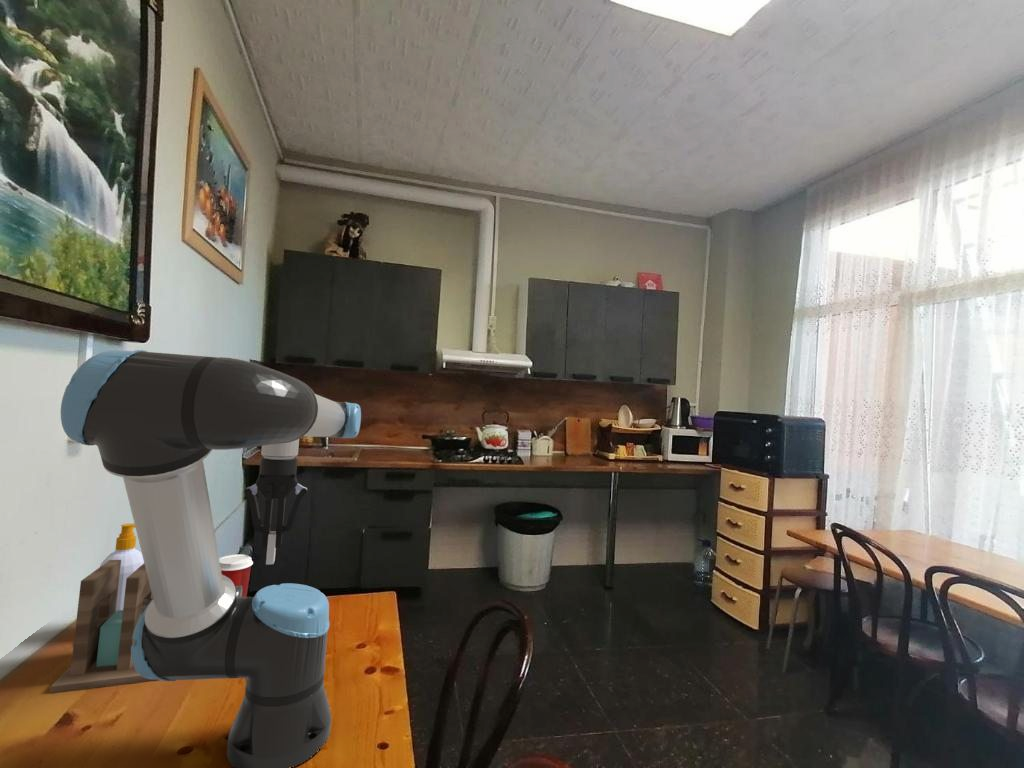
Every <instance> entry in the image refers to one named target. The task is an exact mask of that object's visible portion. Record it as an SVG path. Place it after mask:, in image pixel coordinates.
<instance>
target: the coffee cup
mask: <svg viewBox="0 0 1024 768" xmlns="http://www.w3.org/2000/svg"><path fill="white" fill-rule="evenodd" d="M219 562H220V568H221V574H222V575H224V576H226V577H228V578H229V579H230V580H231V581H232V582H233V583H234V586H242V597H248V596H247V595H248V589H249V582H250V576H251V569H252V565H253V564H254V561H253V560H252V557H251V556H249V555H247V554H241V553H240V554H229V555H224V556H222V557H219Z"/></svg>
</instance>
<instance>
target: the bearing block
mask: <svg viewBox="0 0 1024 768" xmlns="http://www.w3.org/2000/svg"><path fill="white" fill-rule="evenodd" d="M120 567H121V560H109V561H108V562H106V563H105V564H104V565H102V566H101V567H100V566H99V567H98V568H96V570H94V571H93V572H91V573H90V574H88V575H87V576H85V578H83V579H82V580H80V586H79V594H78V603H77V612H76V622H75V629H74V631H75V632H74V638H73V649H72V656H71V657H72V659H71V665H70V666H69V667H68V668H67V669H66V670H65V671H64V672H63V673H62V674H61V675H60V676H59V677H58V678H56V679H57V680H55V681H54V683H52V685H50V690H49V694H55V693H64V692H70V691H78V690H79V691H80V690H86V689H87V690H88V689H95V688H102V687H104V688H105V687H112V686H119V685H121V686H122V685H127V684H137V683H143V682H144V683H145V682H152V681H154V680H152V679H147V678H144V677H142V676H141V675H139V674H138V672H137V671H136V670H135V668H134V666H133V663H132V658H131V647H132V645H133V644H134V639H132V637H133V633H134V630H135V627H136V624H137V622H138V620H139V618H140V617H141V615H142V605H143V599H150V598H153V596H152V592H151V588H150V584H149V580H148V576H147V572H146V568H145V564H142V565H141V566H140V567H139V568H138V569H137V570H136V571H134V572H133V573H132V574H131V575H130V576H129V577H128V578H126V588H125V597H124V606H123V616H122V625H121V634H120V644H119V653H118V662H117V665H109V666H100V667H96V664H97V655H98V645H99V636H100V627H101V626H102V625H103V624H104V623H105V622H106V621H107V620H108V619H109V618H110V617H111V616H112V615H113V614H114V613H115V612H116V604H117V594H118V585H119V576H120Z"/></svg>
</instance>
